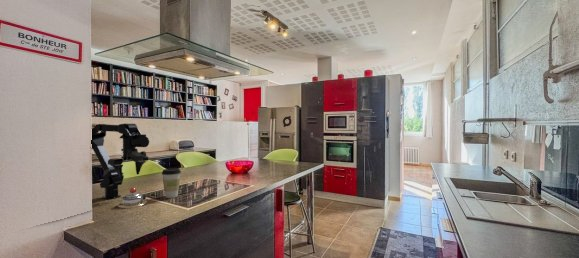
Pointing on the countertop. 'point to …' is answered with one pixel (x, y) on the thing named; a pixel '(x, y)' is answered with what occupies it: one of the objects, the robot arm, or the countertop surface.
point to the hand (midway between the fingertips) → (129, 175)
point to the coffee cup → (171, 182)
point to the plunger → (133, 193)
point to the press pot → (133, 201)
